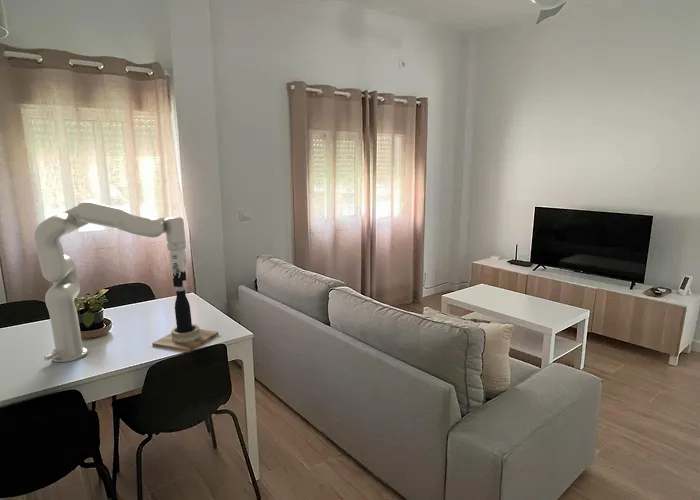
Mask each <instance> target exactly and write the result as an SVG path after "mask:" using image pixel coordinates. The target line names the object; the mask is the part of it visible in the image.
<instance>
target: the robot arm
mask: <svg viewBox="0 0 700 500" xmlns="http://www.w3.org/2000/svg"><path fill="white" fill-rule="evenodd" d="M88 224H93V225H98V226H102V227H108V228H113V229H116V230H120V231H123V232H127V233H129V234H132V235H137V236H141V237H146V238H159V237H161V236H162V235H163V234H165V236H166V247H167V248H166V249H167V250H168V251H169V258H170V259H169V261H170V270H171V273H172V282H173V283H172V284H173V287H174V288H177V287H181V286H182V284H181V277H180V273H183V274H184V281H185V282H186V281H187V272H186V270H187V269H188V262H187V261H188V260H187V254H186V249H187V245H186V244H187V243H186V233H185V232H186V229H185V222H184V218H183V217H180V216H171V217H161V216H154V217H151V218H147V217H143V216H138V215H134V214H132V213H129V212H128V211H127V210H125V209H123V208H120V207H115V206H110V205H105V204H101V203H100V202H99V201H97V200H94V199H87V200H83V201H81V202H79V203H78V204H77V205H76V206H74V207H72V208H70V209H68V210H66V211H65V210H64V211H63V212H61V213H59V214H55V215H52V216H50V217H48V218H46V219H44V220H43V221H42V222H40V223H39V224H38V225H37V227H36V229H35V231H34V234H33V235H34V236H33V237H34V244H35V247H36V252H37V257H38V261H39V265H40V271H41V274H42V276H43V278H44V279H45V280H46V281H48V282H52V284H53V285H51V287H49V289H48V290H47V291H46V293H45V297H44V302H45V305H46V308H47V311H48V314H49V319H50V320H49V321H50V324H51V330H52V336H53V342H54V349H52V352H51V353H50V354H47V355H45V356H44V357H43V360H45V361H49V360H52V361H53V362H54V363H66V362H72V361H75V360H79V359H81V358H83V357H85V356H86V355H87V354H88V352H89V351H88V349H87V348H86V347H84V346H83V341H82V335H81V333H82V332H81V328H80V322H79V316H78V315H79V314H78V311H77V307H76V304H75V299H77V297H78V295H79V294H80V291H81V285H80V280H79V276H78V271H77V268H76V264H75V262H74V259H72V258H71V256H69V255H66V254H64V249H63V248H64V247H63V245H62V243H61V237H64V236H67V235H68V234H70V233H72V232H74V231H76V230H79V229H81V228H83V227H84V226H86V225H88ZM184 281H183V282H184Z"/></svg>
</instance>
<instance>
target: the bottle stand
mask: <svg viewBox="0 0 700 500" xmlns="http://www.w3.org/2000/svg"><path fill="white" fill-rule="evenodd" d="M170 332H171V333H169V334H167V335H165V336H164V337H161V338H160V339H157V340H155V341H154V342H152V347H155V348H161V349H166V350H171V351H172V350H173V351H178V352H183V353H191V352H193V351H194V350H195V349H197V348H200V347H201V346H202V345H204V344H206V343H208V342H209V341H211V340H212V339H214V338H217V337H218V336H219V331H216V330H208V329H200V326H199V325H197V324H193V323H192V331H191V332H187V333H177V326H176V327H174V328H172V329H171V331H170ZM190 351H191V352H190Z"/></svg>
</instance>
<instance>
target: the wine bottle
mask: <svg viewBox="0 0 700 500" xmlns="http://www.w3.org/2000/svg"><path fill="white" fill-rule="evenodd" d="M180 277H181V284H182V286H181V287H176V288H175V289H176V290H175V294H176V297H175V298H176V299H175V302H174V313H175V322H176V323H175V324H176V327H177V333H187V332H191V331H192V324H193V323H192V313H191V305H190V302H189V299H188V298H187V295H186V290H185V286H184V274H183V273H180Z"/></svg>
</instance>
